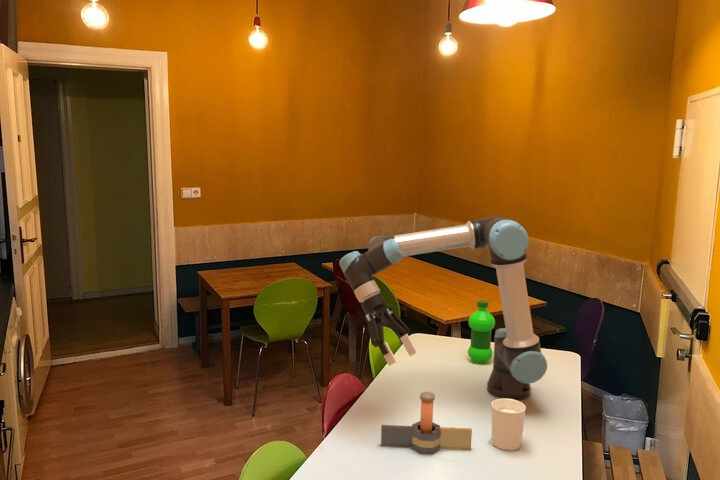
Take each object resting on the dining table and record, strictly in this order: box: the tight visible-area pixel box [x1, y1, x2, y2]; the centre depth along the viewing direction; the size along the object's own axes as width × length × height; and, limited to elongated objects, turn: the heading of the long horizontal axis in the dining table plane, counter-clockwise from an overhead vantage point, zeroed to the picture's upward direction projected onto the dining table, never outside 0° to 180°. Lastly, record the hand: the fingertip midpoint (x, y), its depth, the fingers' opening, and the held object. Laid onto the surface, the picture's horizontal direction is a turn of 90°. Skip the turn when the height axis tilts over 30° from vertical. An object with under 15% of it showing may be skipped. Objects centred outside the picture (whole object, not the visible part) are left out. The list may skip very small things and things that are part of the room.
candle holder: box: [490, 398, 527, 451], centre depth 174 cm, size 10×10×12 cm
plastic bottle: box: [467, 300, 496, 365], centre depth 238 cm, size 10×10×25 cm
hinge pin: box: [419, 391, 436, 432], centre depth 170 cm, size 4×4×16 cm
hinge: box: [380, 420, 473, 455], centre depth 171 cm, size 26×8×6 cm, turn 87°
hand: (403, 359), depth 180 cm, fingers open, 13 cm apart
